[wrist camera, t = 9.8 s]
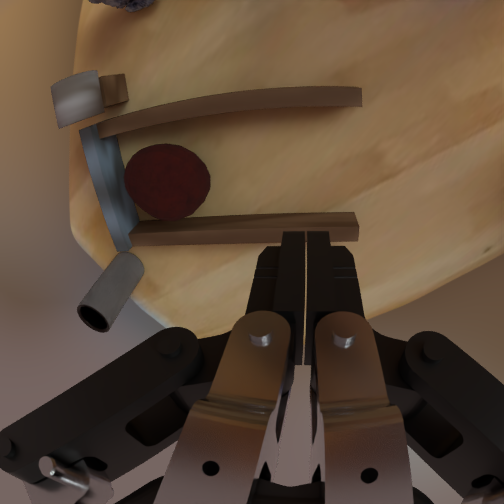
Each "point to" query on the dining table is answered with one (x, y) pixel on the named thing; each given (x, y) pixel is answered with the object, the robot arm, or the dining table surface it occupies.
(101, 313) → the grey tube
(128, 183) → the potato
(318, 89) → the bay
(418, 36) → the dining table surface
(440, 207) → the dining table surface
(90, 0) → the grey lumpy rock
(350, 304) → the robot arm
